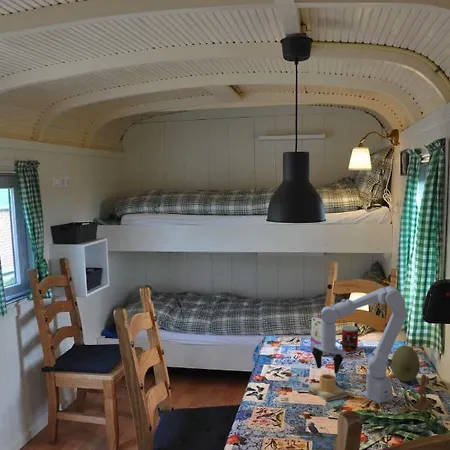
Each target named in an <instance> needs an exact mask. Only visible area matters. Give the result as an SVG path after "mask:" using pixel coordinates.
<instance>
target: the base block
mask: <svg viewBox="0 0 450 450" xmlns="http://www.w3.org/2000/svg"><path fill="white" fill-rule="evenodd" d="M307 387H308V391H311V392H312V393H313V394H314V395H317V396H318V397H319V398H321V399H322V400H324V401H326V402H329V401H333V400H339V399H342V398H345V397H348V392H347V391H345V390H344V389H342V388H340V387H338V386H337V385H336V389H335V391H333V392H324V391H321V389H320V382H317V383H314V384H310V385H307Z"/></svg>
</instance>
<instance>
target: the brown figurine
mask: <svg viewBox="0 0 450 450" xmlns="http://www.w3.org/2000/svg"><path fill="white" fill-rule="evenodd" d="M420 383H421V384H420V385H419V387H418V395H419V396H420V397H419V400H417V401H416V402H415V404H414V405H412V407H413V409H415V410H419V411H422V412H424V411H425V410H427V408H428V407H429V406H430V405H431V404H432V403H433V402H432V400H431V399H428V397H427V394H426V393H427V392H426V387H427V386H428V383H429V377H428V376H427V375H426V374H422V375H421V378H420Z"/></svg>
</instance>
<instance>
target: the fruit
mask: <svg viewBox="0 0 450 450" xmlns="http://www.w3.org/2000/svg"><path fill="white" fill-rule="evenodd" d="M420 367H421V365H420V359H419V356H418V353H417V351H416V350H415V349H414V348H412V347H411V346H408V345H400V346H399V347H397V348H396V349H395V350H394V352H393V354H392V358H391V369H392V373H393V374H394V376H395V377H396V378H397V379H398V380H399V381H400V382H401V381H402V382H405V383H406V382H410V381H411V382H412V381H413V380H414V379H416V378H417V377H418V374H419V371H420Z"/></svg>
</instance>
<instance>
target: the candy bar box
mask: <svg viewBox="0 0 450 450" xmlns="http://www.w3.org/2000/svg"><path fill="white" fill-rule="evenodd" d="M321 322H322V317H320V316H317V317H316V316H315V317H314V316H313V317H311V327H310V328H311V330H310V331H311V332H310V334H311V335H310V345H311V344H313V343H315V344H321V325H322V323H321ZM311 350H312V351H313V349H311ZM330 355H331V353H327V352H323V353H322V357H328V356H330Z"/></svg>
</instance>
